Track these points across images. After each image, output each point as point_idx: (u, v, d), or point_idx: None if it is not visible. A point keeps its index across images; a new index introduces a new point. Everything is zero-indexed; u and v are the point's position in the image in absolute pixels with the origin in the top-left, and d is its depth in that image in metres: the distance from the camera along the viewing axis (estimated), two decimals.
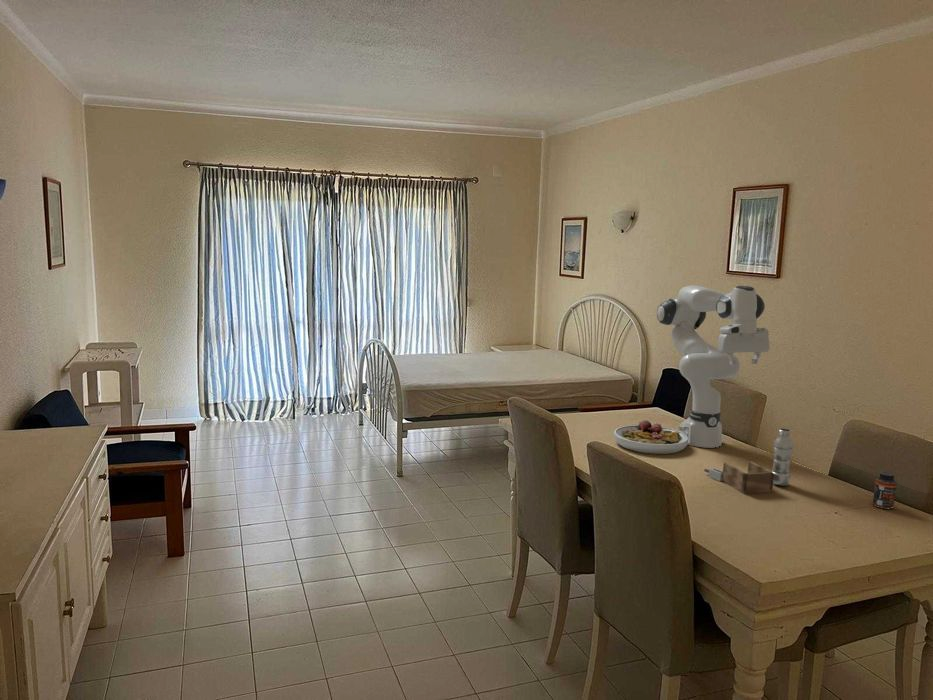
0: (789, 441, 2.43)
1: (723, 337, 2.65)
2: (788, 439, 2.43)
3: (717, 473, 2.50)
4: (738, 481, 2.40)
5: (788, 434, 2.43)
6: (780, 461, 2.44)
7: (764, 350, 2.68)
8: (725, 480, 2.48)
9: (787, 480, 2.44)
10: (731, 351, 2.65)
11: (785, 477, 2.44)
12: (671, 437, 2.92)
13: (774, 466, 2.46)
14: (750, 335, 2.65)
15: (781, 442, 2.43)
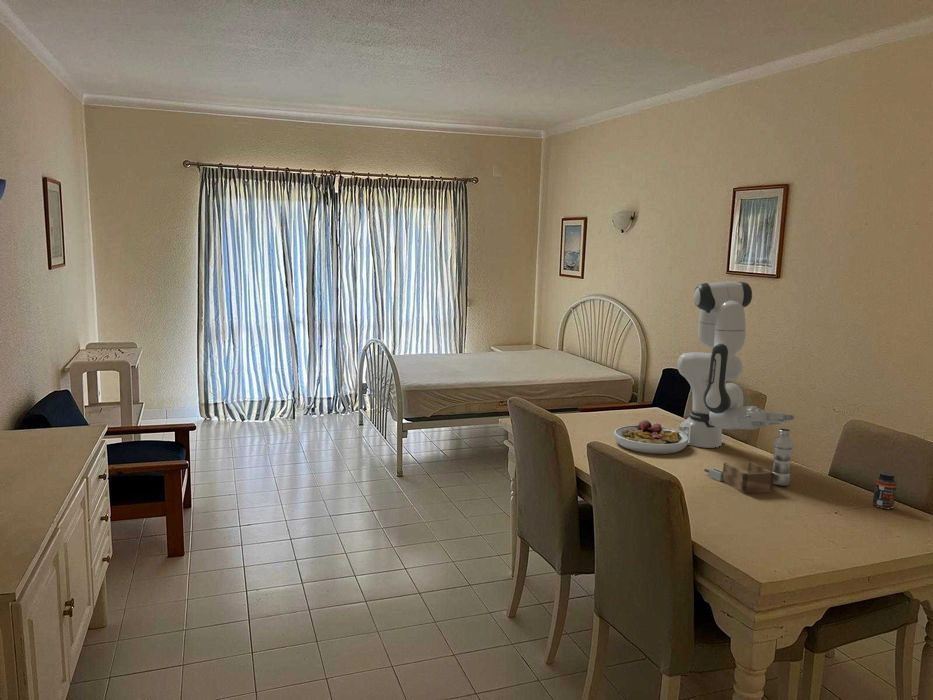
0: (789, 441, 2.43)
1: None
2: (788, 439, 2.43)
3: (717, 473, 2.50)
4: (738, 481, 2.40)
5: (788, 434, 2.43)
6: (780, 461, 2.44)
7: (765, 421, 2.54)
8: (725, 480, 2.48)
9: (787, 480, 2.44)
10: (782, 422, 2.64)
11: (785, 477, 2.44)
12: (671, 437, 2.92)
13: (774, 466, 2.46)
14: (758, 425, 2.63)
15: (781, 442, 2.43)
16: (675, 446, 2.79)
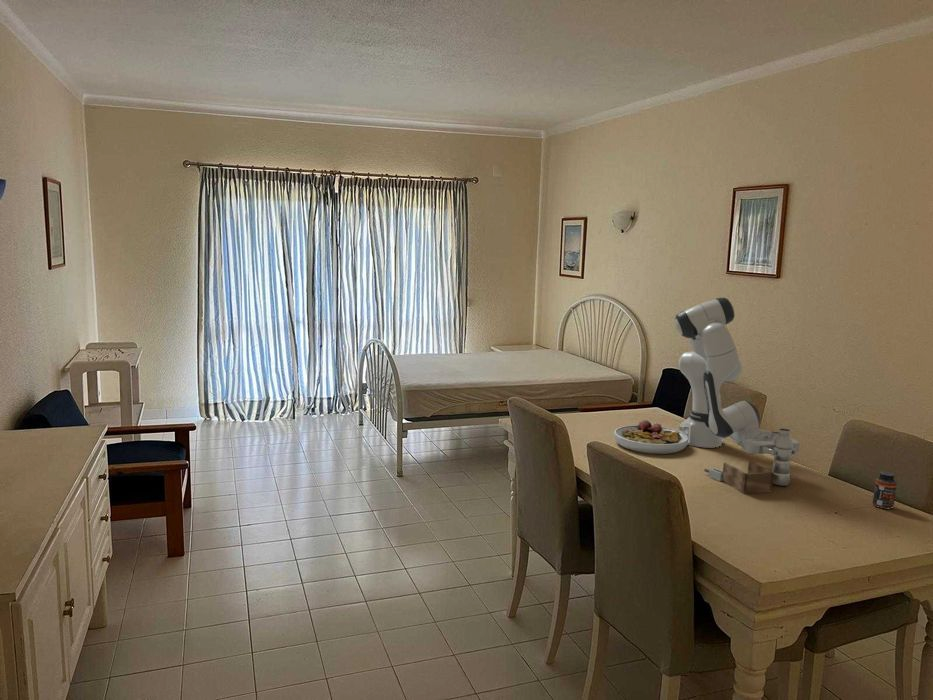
0: (789, 441, 2.43)
1: None
2: (788, 439, 2.43)
3: (717, 473, 2.50)
4: (738, 481, 2.40)
5: (788, 434, 2.43)
6: (780, 461, 2.44)
7: (755, 453, 2.49)
8: (725, 480, 2.48)
9: (787, 480, 2.44)
10: None
11: (785, 477, 2.44)
12: (671, 437, 2.92)
13: (774, 466, 2.46)
14: None
15: (781, 442, 2.43)
16: (675, 446, 2.79)
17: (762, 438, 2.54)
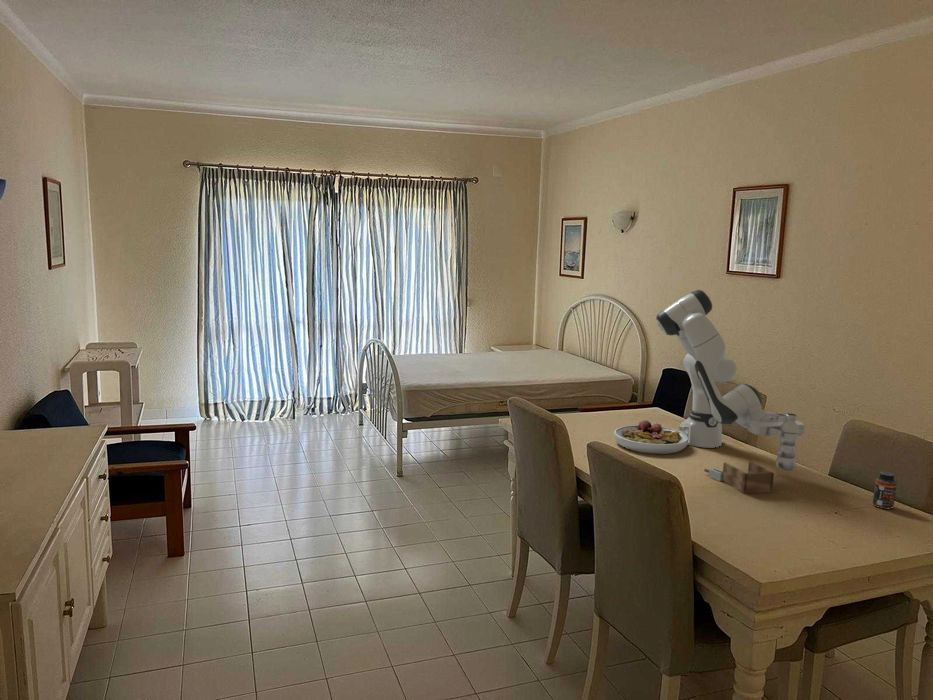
0: (796, 425, 2.43)
1: None
2: (795, 424, 2.43)
3: (717, 473, 2.50)
4: (738, 481, 2.40)
5: (795, 418, 2.43)
6: (787, 445, 2.44)
7: None
8: (725, 480, 2.48)
9: (793, 465, 2.44)
10: None
11: (792, 461, 2.44)
12: (671, 437, 2.92)
13: (780, 451, 2.46)
14: None
15: (788, 426, 2.43)
16: (675, 446, 2.79)
17: (768, 420, 2.54)
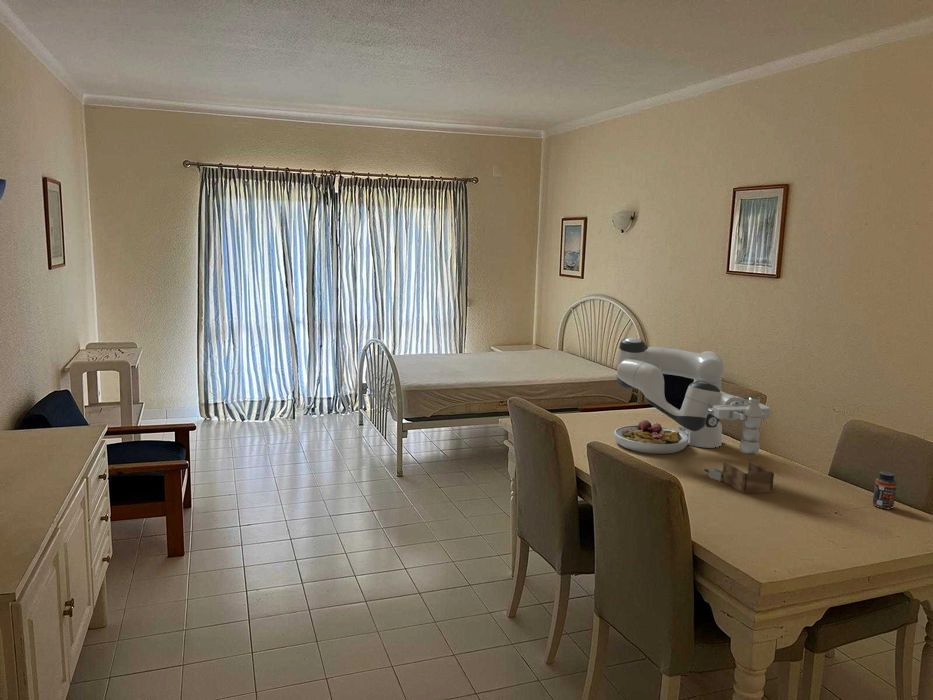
0: (759, 409, 2.39)
1: None
2: (758, 407, 2.39)
3: (717, 473, 2.50)
4: (738, 481, 2.40)
5: (758, 402, 2.39)
6: (750, 429, 2.40)
7: None
8: (725, 480, 2.48)
9: (756, 449, 2.40)
10: None
11: (755, 445, 2.40)
12: (671, 437, 2.92)
13: (743, 435, 2.42)
14: None
15: (751, 410, 2.39)
16: (675, 446, 2.79)
17: (733, 404, 2.50)
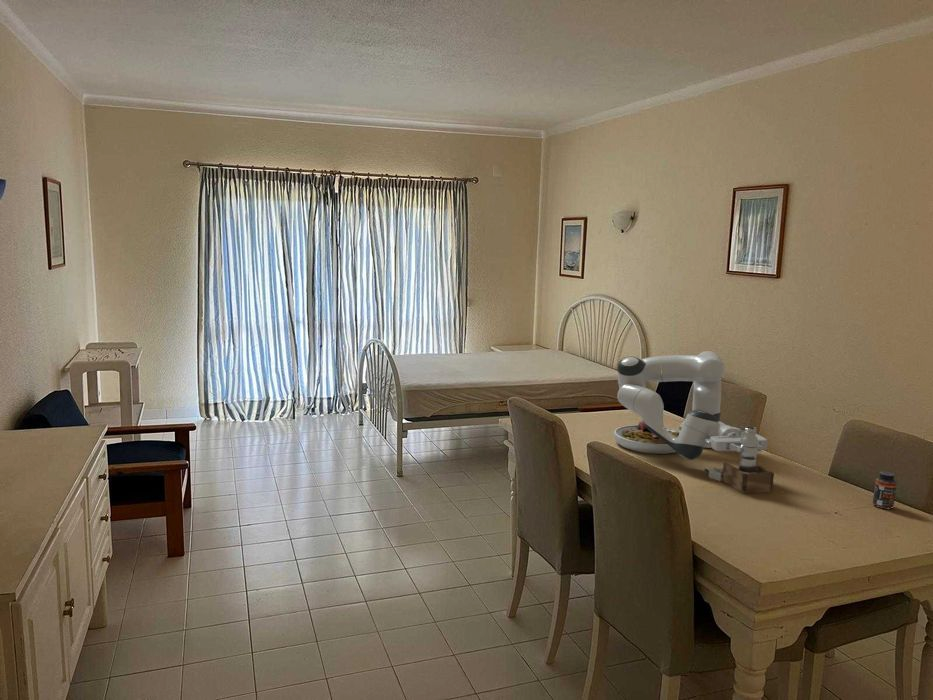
0: (755, 439, 2.40)
1: None
2: (754, 437, 2.40)
3: (717, 473, 2.50)
4: (738, 481, 2.40)
5: (754, 432, 2.40)
6: (746, 459, 2.41)
7: (722, 450, 2.46)
8: (725, 480, 2.48)
9: None
10: None
11: None
12: None
13: (740, 465, 2.43)
14: None
15: (748, 440, 2.40)
16: None
17: (730, 435, 2.51)
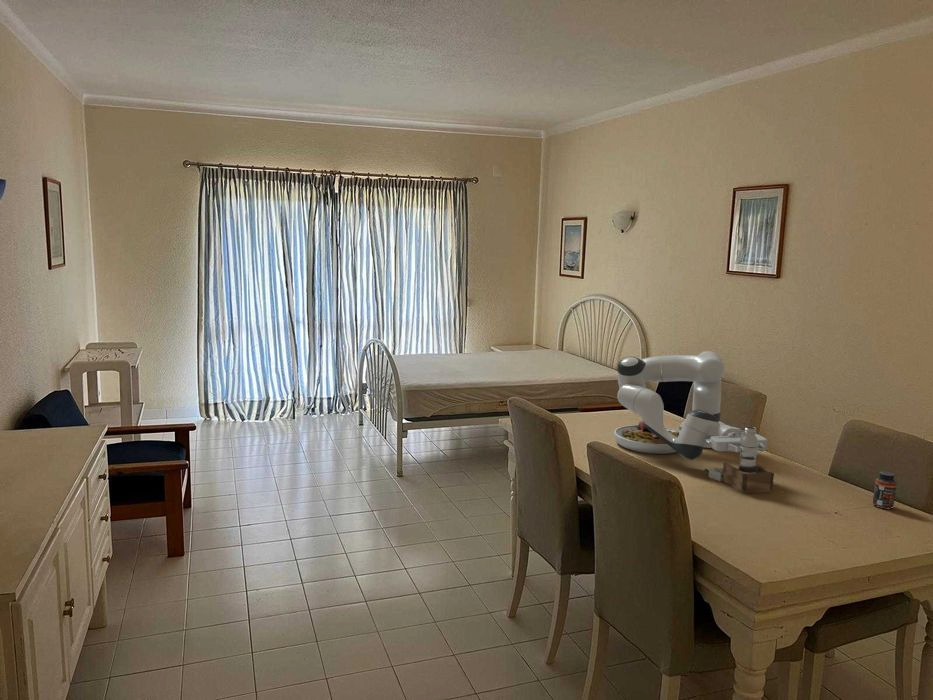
0: (755, 439, 2.40)
1: None
2: (754, 437, 2.40)
3: (717, 473, 2.50)
4: (738, 481, 2.40)
5: (754, 432, 2.40)
6: (746, 459, 2.41)
7: None
8: (725, 480, 2.48)
9: None
10: None
11: None
12: None
13: (740, 465, 2.43)
14: None
15: (747, 440, 2.40)
16: None
17: (730, 435, 2.52)
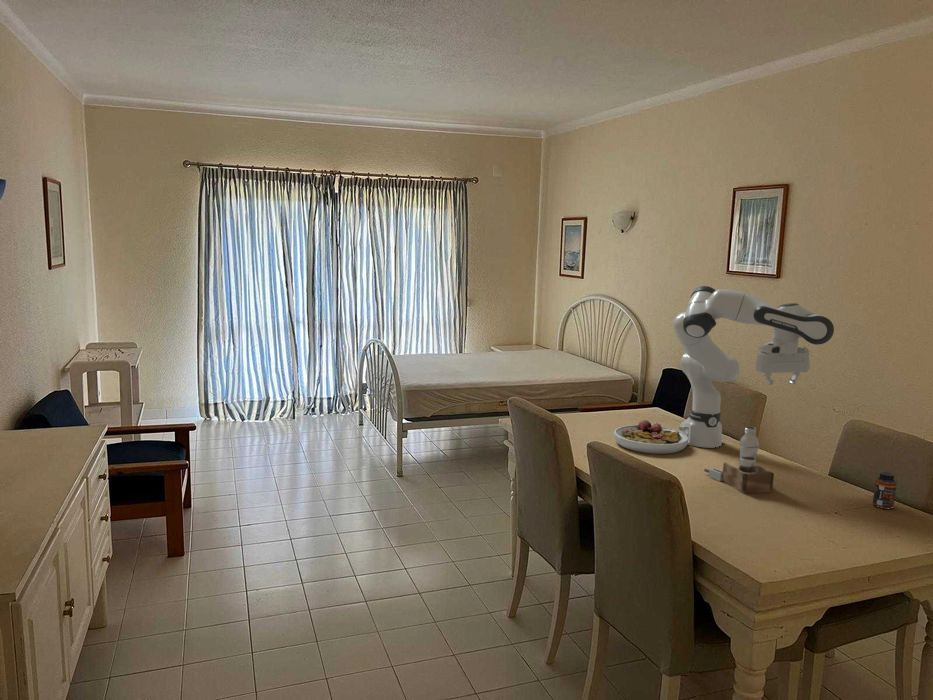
0: (755, 439, 2.40)
1: (762, 357, 2.54)
2: (754, 437, 2.40)
3: (717, 473, 2.50)
4: (738, 481, 2.40)
5: (754, 432, 2.40)
6: (746, 459, 2.41)
7: (803, 371, 2.58)
8: (725, 480, 2.48)
9: None
10: (770, 371, 2.55)
11: None
12: (671, 437, 2.92)
13: (740, 465, 2.43)
14: (791, 355, 2.54)
15: (747, 440, 2.40)
16: (675, 446, 2.79)
17: None
